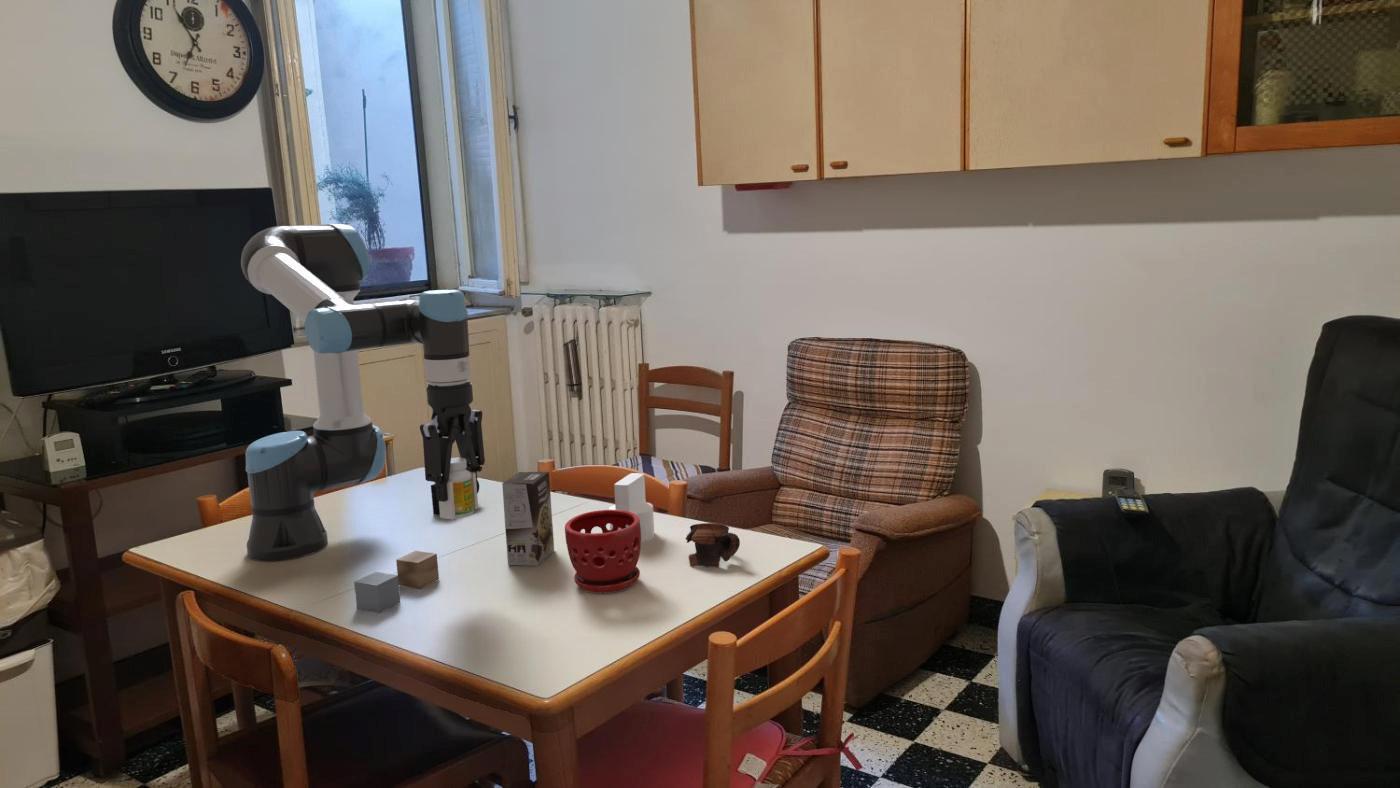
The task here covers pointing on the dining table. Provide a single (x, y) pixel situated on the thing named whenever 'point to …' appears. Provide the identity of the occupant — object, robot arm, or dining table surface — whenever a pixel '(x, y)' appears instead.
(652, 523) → the base with upright slab
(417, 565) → the walnut block
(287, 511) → the robot arm
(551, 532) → the coffee box
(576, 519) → the plant pot
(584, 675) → the dining table surface
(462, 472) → the supplement bottle
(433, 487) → the digital camera
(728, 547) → the pottery mug
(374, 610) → the slate block
